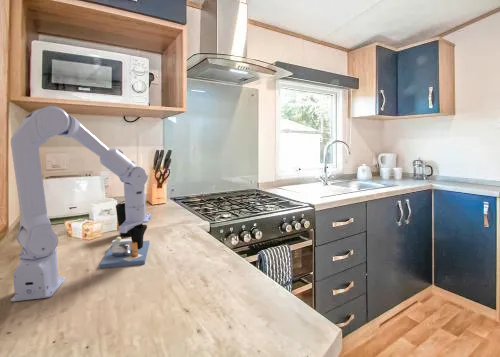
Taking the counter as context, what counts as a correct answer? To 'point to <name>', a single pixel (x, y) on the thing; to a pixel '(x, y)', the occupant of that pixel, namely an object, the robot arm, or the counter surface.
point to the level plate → (126, 259)
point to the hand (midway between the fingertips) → (137, 248)
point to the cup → (121, 217)
